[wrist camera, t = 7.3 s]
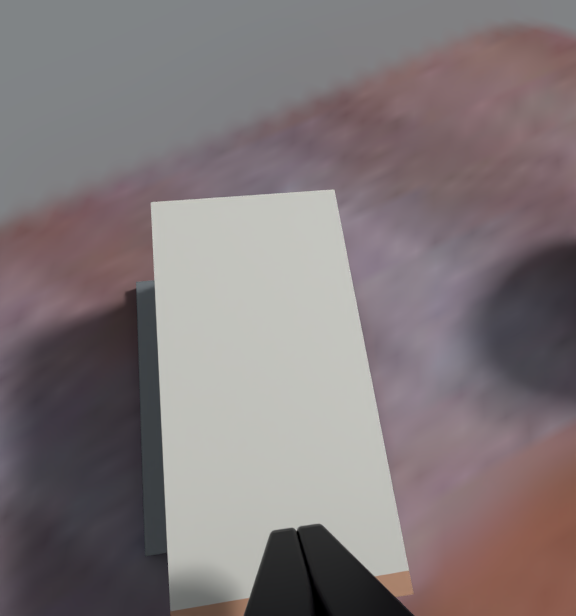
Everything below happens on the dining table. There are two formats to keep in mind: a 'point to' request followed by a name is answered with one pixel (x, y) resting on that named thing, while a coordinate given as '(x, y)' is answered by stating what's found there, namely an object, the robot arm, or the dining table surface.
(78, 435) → the dining table surface
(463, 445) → the dining table surface
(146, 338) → the mat
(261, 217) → the block
